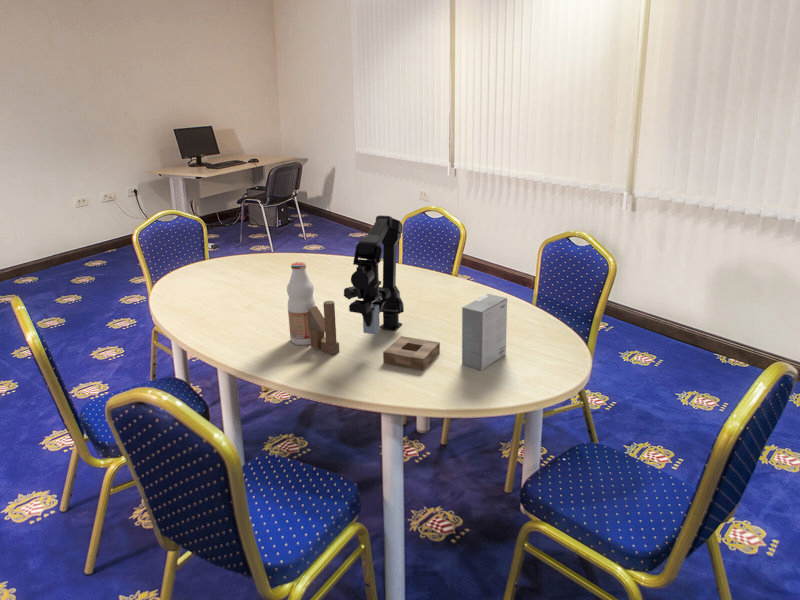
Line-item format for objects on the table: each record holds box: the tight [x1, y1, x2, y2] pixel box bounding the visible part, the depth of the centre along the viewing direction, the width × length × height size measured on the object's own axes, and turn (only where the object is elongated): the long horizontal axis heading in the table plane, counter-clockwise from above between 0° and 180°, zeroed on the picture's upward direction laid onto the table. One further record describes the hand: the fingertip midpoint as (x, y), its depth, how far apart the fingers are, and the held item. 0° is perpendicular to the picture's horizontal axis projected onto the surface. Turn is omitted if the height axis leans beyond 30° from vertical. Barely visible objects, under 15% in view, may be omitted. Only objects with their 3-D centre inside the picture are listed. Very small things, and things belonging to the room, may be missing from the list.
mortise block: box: [382, 335, 441, 371], centre depth 206 cm, size 14×14×4 cm
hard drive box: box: [461, 293, 508, 371], centre depth 201 cm, size 16×8×20 cm, turn 141°
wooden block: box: [309, 300, 340, 356], centre depth 211 cm, size 4×11×18 cm, turn 48°
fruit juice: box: [286, 261, 316, 346], centre depth 217 cm, size 9×9×28 cm
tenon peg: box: [362, 304, 381, 335], centre depth 207 cm, size 4×4×9 cm
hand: (371, 324), depth 208 cm, fingers closed on tenon peg, 4 cm apart
